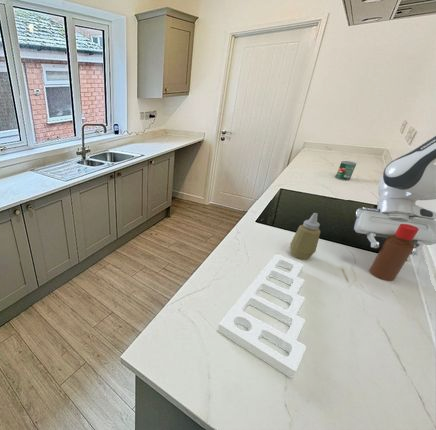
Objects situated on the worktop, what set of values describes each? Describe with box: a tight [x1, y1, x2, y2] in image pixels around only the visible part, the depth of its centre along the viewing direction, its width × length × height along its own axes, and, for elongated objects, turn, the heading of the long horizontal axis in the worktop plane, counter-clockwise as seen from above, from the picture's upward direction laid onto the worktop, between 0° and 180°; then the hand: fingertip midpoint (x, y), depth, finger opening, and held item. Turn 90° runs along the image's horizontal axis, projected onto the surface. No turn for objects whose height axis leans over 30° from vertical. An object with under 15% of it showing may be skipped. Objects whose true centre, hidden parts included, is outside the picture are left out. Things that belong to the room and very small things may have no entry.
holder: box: [216, 253, 307, 379], centre depth 78 cm, size 45×18×3 cm, turn 134°
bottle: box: [368, 235, 415, 282], centre depth 85 cm, size 6×6×19 cm
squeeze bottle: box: [289, 212, 321, 261], centre depth 96 cm, size 8×8×18 cm
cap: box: [395, 224, 419, 240], centre depth 81 cm, size 4×4×4 cm
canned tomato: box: [335, 160, 357, 181], centre depth 175 cm, size 8×8×11 cm
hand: (393, 250), depth 85 cm, fingers open, 8 cm apart
